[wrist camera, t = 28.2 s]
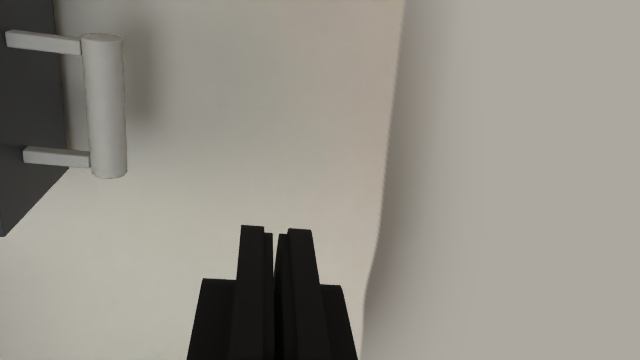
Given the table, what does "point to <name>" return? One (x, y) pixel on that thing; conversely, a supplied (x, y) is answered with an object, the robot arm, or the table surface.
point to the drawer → (53, 106)
